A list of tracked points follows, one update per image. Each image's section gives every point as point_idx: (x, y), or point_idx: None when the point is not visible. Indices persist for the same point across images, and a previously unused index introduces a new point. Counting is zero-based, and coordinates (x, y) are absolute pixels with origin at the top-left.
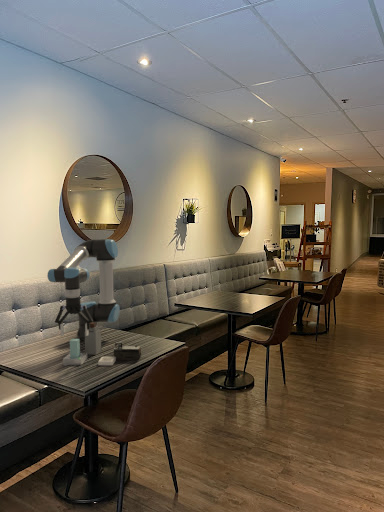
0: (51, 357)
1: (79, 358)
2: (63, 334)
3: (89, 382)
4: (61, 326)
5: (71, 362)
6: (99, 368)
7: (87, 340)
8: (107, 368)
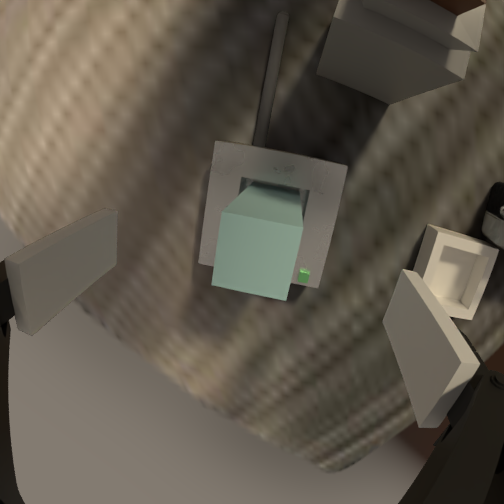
0: (114, 100)
1: (305, 282)
2: (114, 229)
3: (350, 437)
4: (49, 316)
5: None
6: None
7: (350, 55)
8: None
